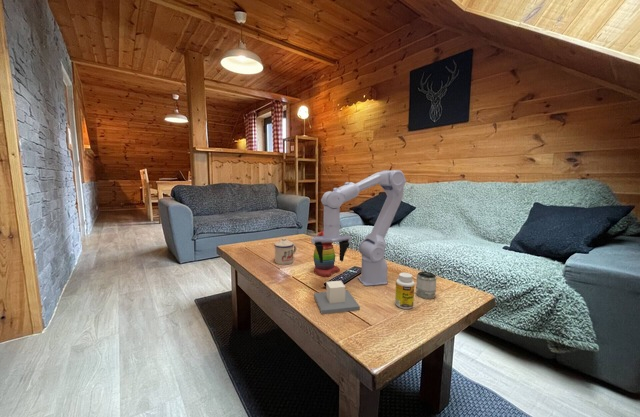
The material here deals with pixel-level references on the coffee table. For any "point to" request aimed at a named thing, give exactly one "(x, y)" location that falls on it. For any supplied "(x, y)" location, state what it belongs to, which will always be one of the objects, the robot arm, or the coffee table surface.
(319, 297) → the plate
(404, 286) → the supplement bottle
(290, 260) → the teacup with lid
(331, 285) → the block
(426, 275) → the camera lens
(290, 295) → the coffee table surface
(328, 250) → the stacking bear
